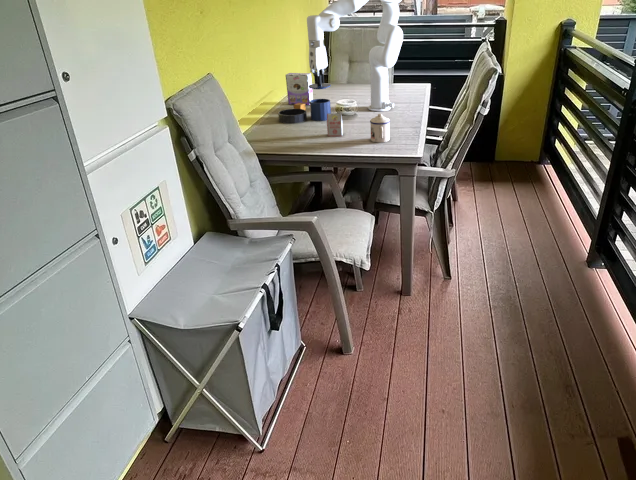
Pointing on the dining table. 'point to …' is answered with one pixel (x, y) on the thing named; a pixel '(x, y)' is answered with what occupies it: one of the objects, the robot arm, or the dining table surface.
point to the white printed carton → (334, 125)
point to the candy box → (299, 88)
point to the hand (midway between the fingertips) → (319, 83)
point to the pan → (292, 116)
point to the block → (300, 106)
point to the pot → (320, 109)
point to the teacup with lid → (380, 129)
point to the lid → (320, 85)
